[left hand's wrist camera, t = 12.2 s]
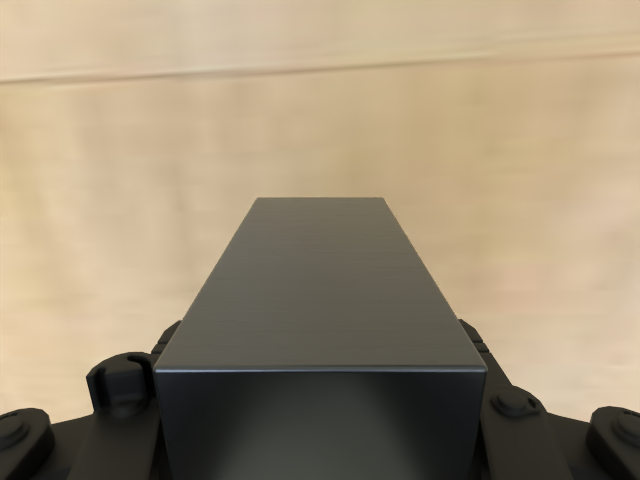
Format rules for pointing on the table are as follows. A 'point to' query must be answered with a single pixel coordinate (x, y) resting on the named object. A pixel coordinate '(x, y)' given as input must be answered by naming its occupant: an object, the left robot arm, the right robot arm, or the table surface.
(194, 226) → the table surface
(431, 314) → the bar
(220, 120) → the table surface
